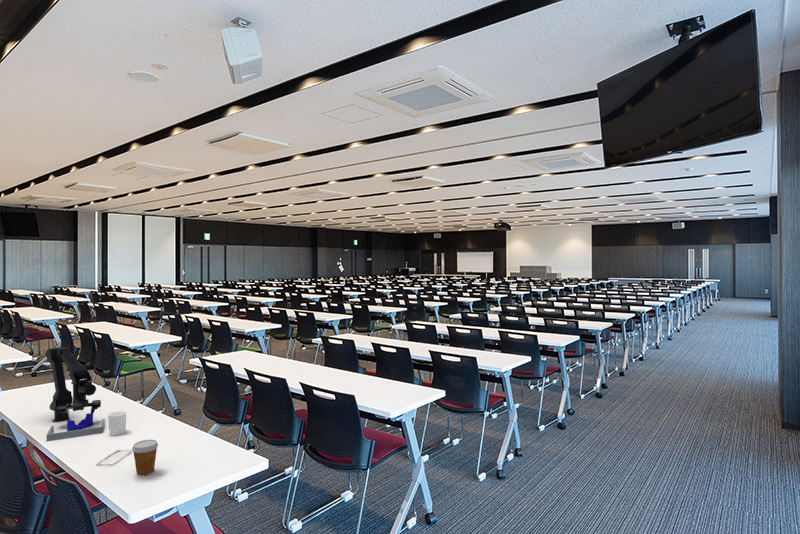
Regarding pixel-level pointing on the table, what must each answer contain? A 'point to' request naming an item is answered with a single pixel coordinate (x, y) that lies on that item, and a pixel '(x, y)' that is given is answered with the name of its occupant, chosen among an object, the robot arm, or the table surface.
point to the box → (74, 432)
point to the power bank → (112, 454)
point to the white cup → (117, 422)
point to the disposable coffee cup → (145, 456)
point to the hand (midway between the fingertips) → (79, 422)
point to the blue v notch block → (83, 424)
